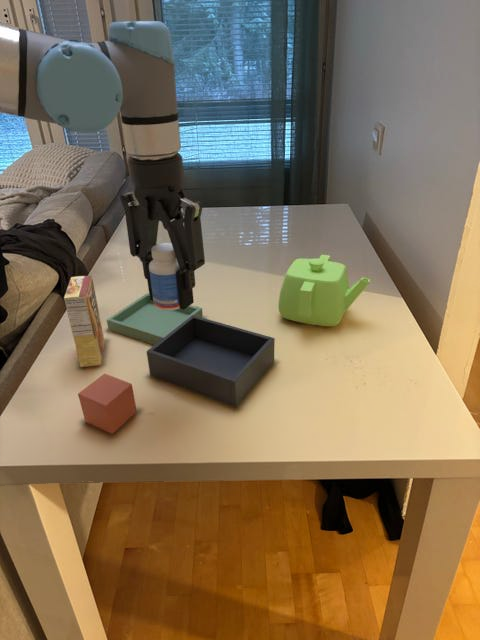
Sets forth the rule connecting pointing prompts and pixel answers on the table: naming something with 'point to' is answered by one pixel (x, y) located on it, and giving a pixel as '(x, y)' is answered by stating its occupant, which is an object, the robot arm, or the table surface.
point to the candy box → (85, 320)
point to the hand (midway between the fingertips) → (171, 301)
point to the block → (107, 403)
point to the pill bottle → (164, 277)
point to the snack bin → (212, 359)
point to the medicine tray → (149, 320)
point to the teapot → (317, 291)
